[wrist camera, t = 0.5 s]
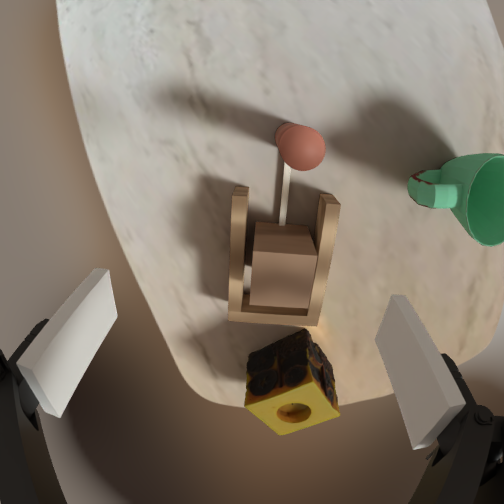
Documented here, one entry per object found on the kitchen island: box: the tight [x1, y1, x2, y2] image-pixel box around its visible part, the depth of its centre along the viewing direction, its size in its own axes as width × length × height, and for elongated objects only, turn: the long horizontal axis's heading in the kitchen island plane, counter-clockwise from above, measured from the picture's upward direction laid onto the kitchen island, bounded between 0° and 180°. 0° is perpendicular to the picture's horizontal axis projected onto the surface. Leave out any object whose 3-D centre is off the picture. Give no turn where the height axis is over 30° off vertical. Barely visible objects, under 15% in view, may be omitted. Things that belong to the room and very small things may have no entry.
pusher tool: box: [249, 123, 326, 308], centre depth 29 cm, size 18×6×12 cm, turn 177°
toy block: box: [244, 329, 340, 435], centre depth 40 cm, size 10×10×10 cm
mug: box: [408, 153, 504, 247], centre depth 27 cm, size 15×10×10 cm
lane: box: [228, 187, 341, 326], centre depth 35 cm, size 16×11×4 cm
